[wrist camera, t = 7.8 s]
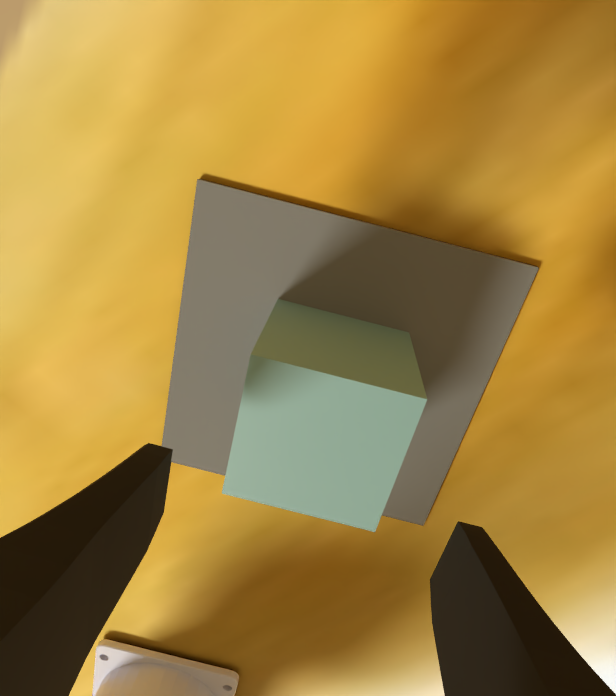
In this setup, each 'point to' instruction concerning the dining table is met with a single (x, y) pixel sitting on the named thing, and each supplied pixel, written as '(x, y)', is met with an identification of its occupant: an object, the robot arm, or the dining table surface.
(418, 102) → the dining table surface
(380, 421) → the teal cube
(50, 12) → the dining table surface
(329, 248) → the pad
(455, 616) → the robot arm
